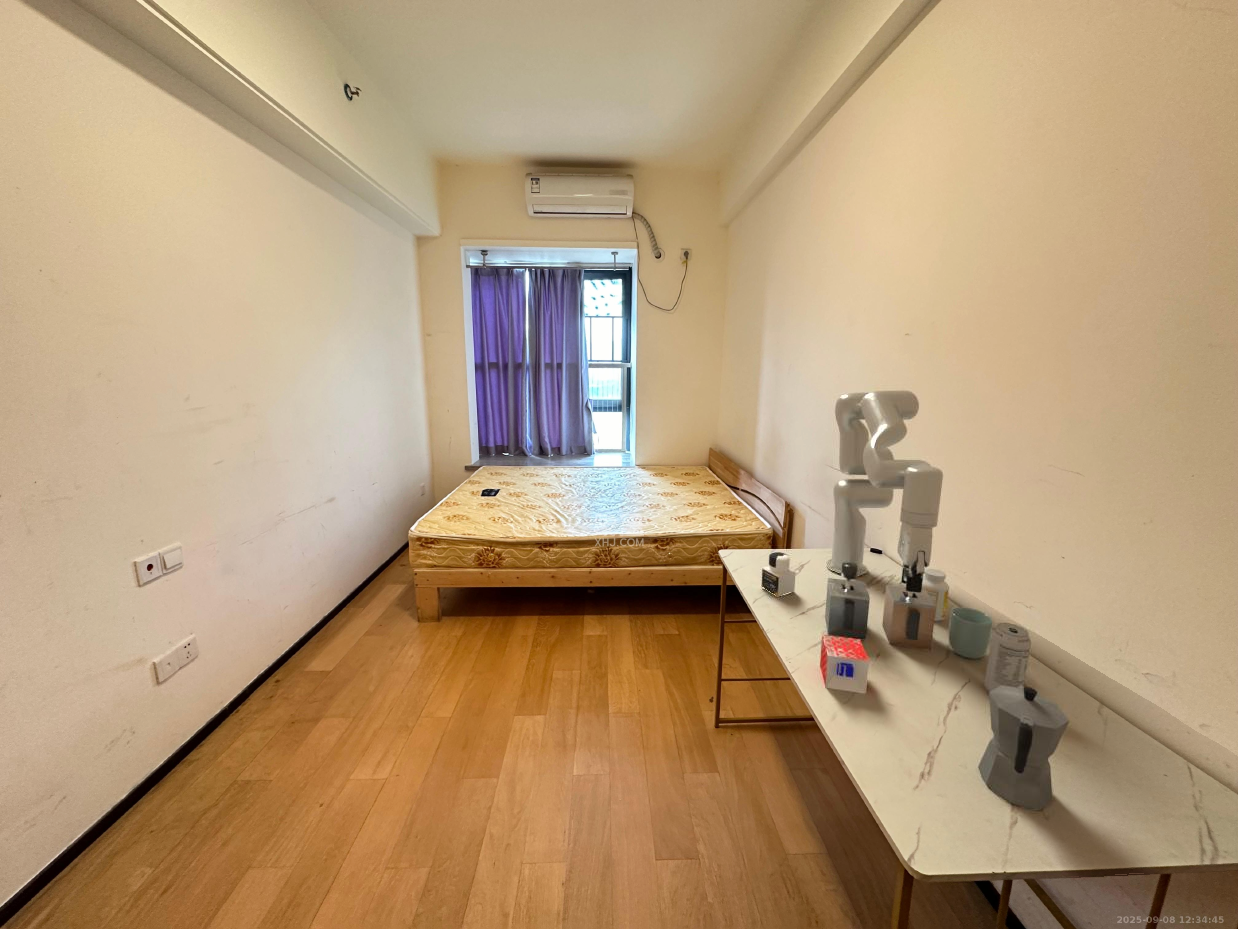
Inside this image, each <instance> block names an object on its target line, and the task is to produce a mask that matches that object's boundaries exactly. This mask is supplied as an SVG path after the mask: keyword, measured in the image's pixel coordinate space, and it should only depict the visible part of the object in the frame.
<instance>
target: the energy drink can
mask: <svg viewBox="0 0 1238 929" xmlns="http://www.w3.org/2000/svg"><path fill="white" fill-rule="evenodd" d="M1031 647H1032V640H1031V638H1030V636H1029V631H1028V630H1027V629H1025V627H1022V626H1020V625H1017V624H1015V623H1010V622H999V623H997V625H996V627H995V628H994V629H992V632H991V638H990V644H989V651H988V652H989V653H988V660H987V665H986V673H985V677H984V686H985V688H986V691H987V692H988V693H989V692H990V691H992V690H994V689H996V688H998V687H999V686H1001V685H1003V686H1009V687H1014V688H1017V687H1018V686H1020V685H1025V681H1026V676H1027V675H1026V674H1027V670H1028V665H1029V664H1028V663H1029V658H1030V652H1031Z"/></svg>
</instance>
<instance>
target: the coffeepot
mask: <svg viewBox="0 0 1238 929" xmlns="http://www.w3.org/2000/svg"><path fill="white" fill-rule="evenodd" d="M988 694H989V710H990V711H989V712H990V730H991V731H992V733H993V737H992V738H991V739H990V740H989V742H988V744H987V746H986V748H985V751H984V753H983V755H982V758H981V759H980V761H979V764H978V766H977V768H978V771H979V774H980V776H981V777H980V778H982V781H984V783H985V785H986V786H987V787H988V788H989V789H990V790H991V791H993V792H994V794H996V795H998V797H1000V796H1001V798H1002V799H1003V798H1004V800H1005V801H1007V802H1008V803H1011V804H1013V805H1015V806H1018V807H1020V808H1023V807H1024V808H1023V809H1027V808H1029V810H1034V809H1037V811H1038V810H1039V811H1042V810H1043V809H1045V807H1046V806H1047V805H1048V806H1049V805H1050V803H1052V802H1053V787H1052V786H1053V785H1052V784H1053V783H1052V772H1051V771H1052V770H1051V764H1050V761H1049V758H1050V757H1051V756H1052V755H1053V754H1055V752H1056V750H1057V748H1058V745H1059V743H1060V741H1061V739H1062V738H1063V735H1064V733H1065V731H1066V728H1067V727H1068V725H1069V722H1070V719H1069V718H1068V717H1067V716H1066V714H1065V712H1064V711H1063V710H1062V709H1061V708H1060V707H1059V705H1058V704H1057V703H1055V702H1053V701H1051V700H1050V699H1047V698H1045V697H1043V696H1041V693H1040V692H1039V691H1038V690H1037V689H1035V688H1034V687H1030V686H1027V685H1026V684H1024V685H1020V686H1018V687H1017V688H1014V687H1009V686H1003V685H1001V686H999V687H998V688H996V689H994V690H992V691H990V692H988ZM1048 806H1047V807H1048ZM1047 807H1046V808H1047Z"/></svg>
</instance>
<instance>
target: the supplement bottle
mask: <svg viewBox="0 0 1238 929" xmlns="http://www.w3.org/2000/svg"><path fill="white" fill-rule="evenodd" d="M946 577H947V574H946V572H944V571H942V570H939V569H935V568H928V569H926V568H925V573H924V576H923V582H922V589H926V591H927V592H928V594H929V596H930V597H931V599H932V600H933V602H934V603H935V605H936V612H935V620H934V622H939V621H944V620H945V619H946V613H947V606H948V597H949V591H950V586H949V584H948V583H947V582H946V581H945V580H946Z"/></svg>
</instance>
